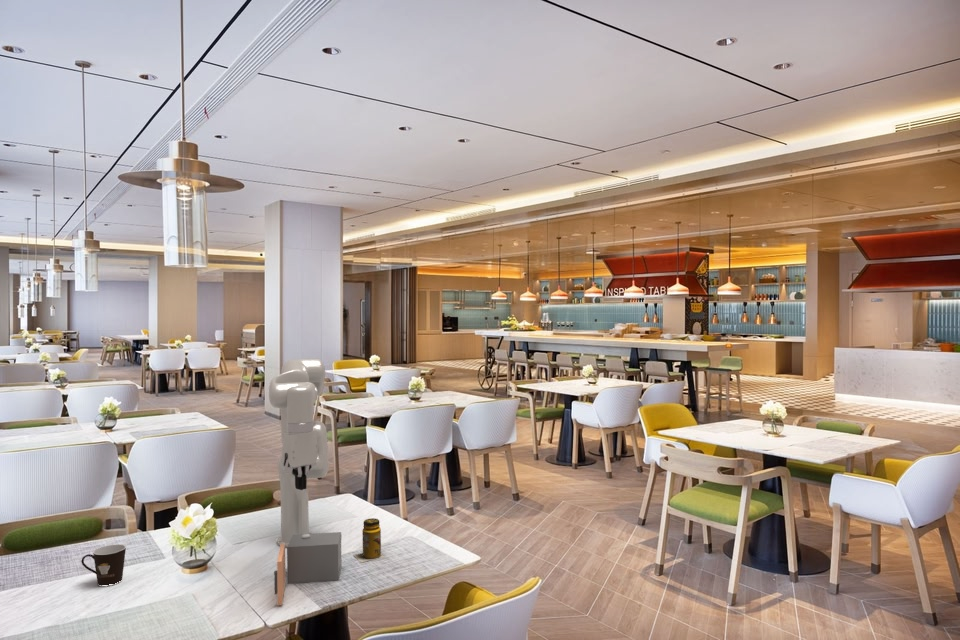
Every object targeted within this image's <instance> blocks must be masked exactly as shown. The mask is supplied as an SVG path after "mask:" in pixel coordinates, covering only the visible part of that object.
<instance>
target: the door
mask: <svg viewBox="0 0 960 640" xmlns="http://www.w3.org/2000/svg"><path fill="white" fill-rule="evenodd" d="M276 562H277V563H276V570H274V572H273V578H274V579H273V583H274V584H273V585H274V587H273V588H274V589H273V591H274V595H277V606H283V603H284V602H283V601H284V596H285V595H284V594H285V589H286V547H285V543H282V544H281V545H280V546H279V551H278V555H277V561H276Z"/></svg>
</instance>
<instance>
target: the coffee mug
mask: <svg viewBox="0 0 960 640" xmlns="http://www.w3.org/2000/svg"><path fill="white" fill-rule="evenodd" d="M126 550H127V547H126V545H124V544H109V545H105V546H101V547H98V548H96V549H94V550H93V551H92V554H90V553H88V554H86V555H84V556H83V557H82V558H81V565H82V566H83V567H84V568H85V569H86V570H88V571H90V572H91V573H93V574H95V575H96V581H97V582H96V583H97V585H98V584H99V585H109V584H115V583H117V582H119V581H121V580H122V581H123V576H124V567H125V560H126V559H125V558H126V552H127V551H126ZM87 557H91V558H92V559H93V561H94V562H93V563H94V568H95V570H94V569H92V568H91V567H89V566H87V565H86V564H85V558H87ZM122 581H121V582H122Z"/></svg>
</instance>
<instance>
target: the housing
mask: <svg viewBox="0 0 960 640" xmlns="http://www.w3.org/2000/svg"><path fill="white" fill-rule="evenodd" d="M286 558H287V559H286V563H287V564H286V566H287V567H286V568H287V571H286V572H287V573H286V574H287V576H286V577H287V581H286V582H287V584H288V585H289V584H305V583H321V582H333V581H339V580H340V574H341V571H342V568H343V567H342V565H343V564H342V532H341V531H336V532H319V533H318V532H317V533H310V534H298V535H293V536H292V538H291V540H290V542H289V544H288V546H287V547H286Z"/></svg>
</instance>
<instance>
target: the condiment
mask: <svg viewBox="0 0 960 640" xmlns="http://www.w3.org/2000/svg"><path fill="white" fill-rule="evenodd" d="M361 531H362V553H356V554H355V553H354V554H353V557H355V559H357V560H358V561H359V562H360V563H364V562H369V561H370V562H371V561H374V560H377V559H378V560H379V559H383V558H385V557H386V556H385V555H383V554H382V542H381V541H382V536H381V535H382V534H381V533H382V531H381V527H380V519H378V518H374V517H373V518H367V519H364V521H363V528H362V530H361Z"/></svg>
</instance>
